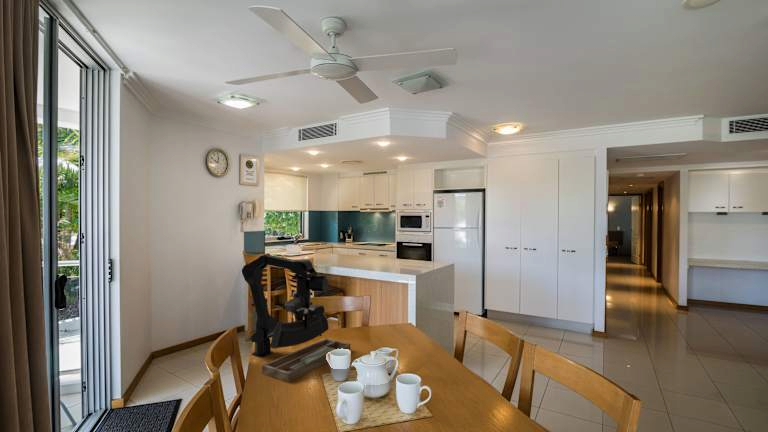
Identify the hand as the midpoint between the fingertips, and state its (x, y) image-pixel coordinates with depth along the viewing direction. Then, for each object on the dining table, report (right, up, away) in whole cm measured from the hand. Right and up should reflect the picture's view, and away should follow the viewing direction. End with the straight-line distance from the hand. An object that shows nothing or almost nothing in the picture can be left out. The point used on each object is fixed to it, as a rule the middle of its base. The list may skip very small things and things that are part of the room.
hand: (303, 328), depth 150 cm
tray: (+3, -13, -2) cm, 13 cm away
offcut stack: (+6, -14, -3) cm, 15 cm away
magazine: (0, -6, -1) cm, 6 cm away
